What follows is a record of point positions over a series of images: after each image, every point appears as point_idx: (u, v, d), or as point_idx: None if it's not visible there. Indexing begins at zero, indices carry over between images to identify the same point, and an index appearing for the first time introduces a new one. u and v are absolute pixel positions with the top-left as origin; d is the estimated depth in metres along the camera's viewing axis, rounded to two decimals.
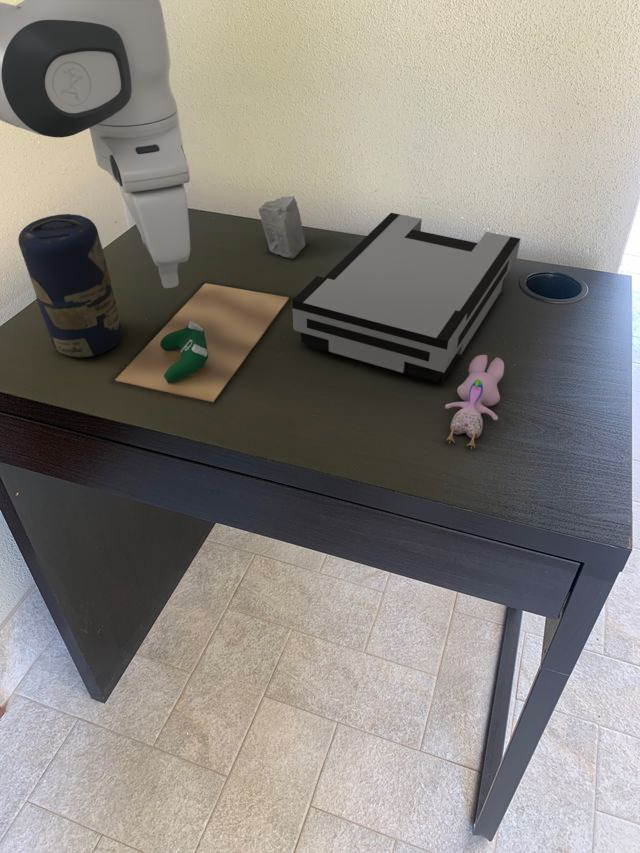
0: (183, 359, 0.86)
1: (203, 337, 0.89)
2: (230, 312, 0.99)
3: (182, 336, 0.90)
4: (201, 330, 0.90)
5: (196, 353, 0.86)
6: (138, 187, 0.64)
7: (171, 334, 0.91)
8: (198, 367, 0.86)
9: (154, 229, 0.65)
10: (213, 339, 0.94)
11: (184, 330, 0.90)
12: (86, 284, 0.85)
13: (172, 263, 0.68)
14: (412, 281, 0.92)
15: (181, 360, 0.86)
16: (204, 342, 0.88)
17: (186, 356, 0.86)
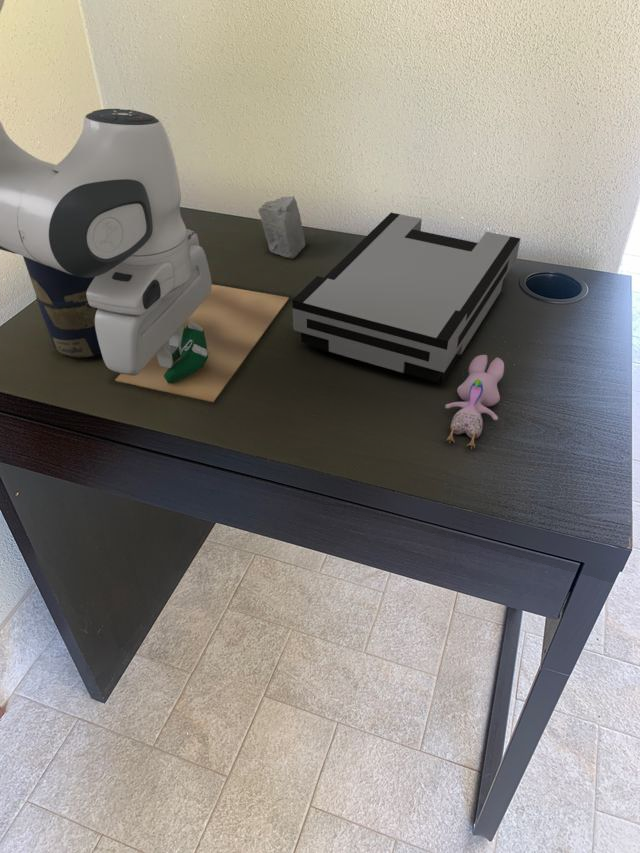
0: (183, 359, 0.86)
1: (203, 337, 0.89)
2: (230, 312, 0.99)
3: (182, 336, 0.90)
4: (201, 330, 0.90)
5: (196, 353, 0.86)
6: (97, 306, 0.72)
7: None
8: (198, 367, 0.86)
9: (104, 342, 0.74)
10: (213, 339, 0.94)
11: (184, 330, 0.90)
12: (86, 284, 0.85)
13: None
14: (412, 281, 0.92)
15: (181, 360, 0.86)
16: (204, 342, 0.88)
17: (186, 356, 0.86)
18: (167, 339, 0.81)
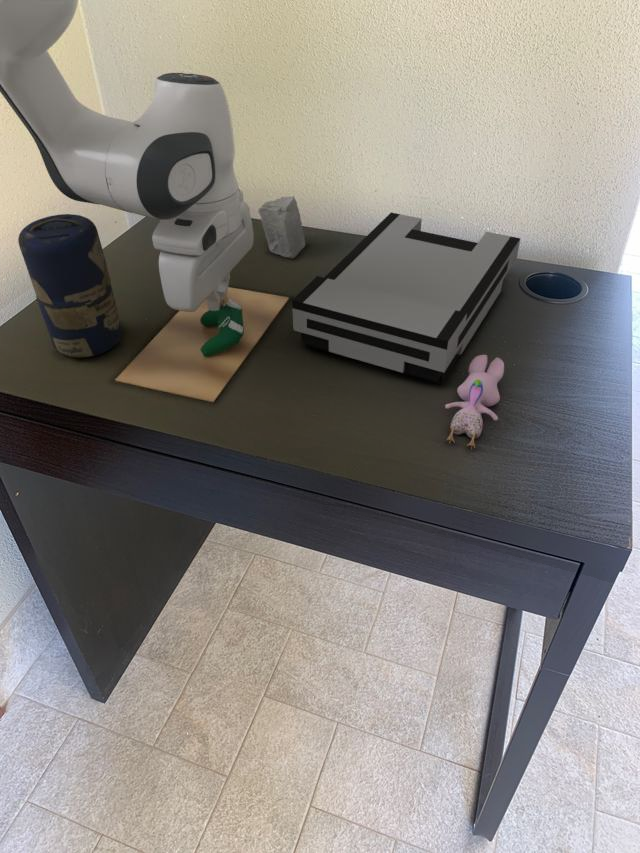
0: (219, 334, 0.90)
1: (240, 315, 0.93)
2: None
3: (221, 313, 0.94)
4: (239, 308, 0.94)
5: (232, 329, 0.90)
6: (161, 248, 0.82)
7: (211, 311, 0.95)
8: (233, 343, 0.90)
9: (166, 281, 0.84)
10: None
11: (223, 307, 0.94)
12: (86, 284, 0.85)
13: (179, 310, 0.86)
14: (412, 281, 0.92)
15: (218, 335, 0.90)
16: (241, 319, 0.92)
17: (222, 331, 0.90)
18: (218, 283, 0.90)
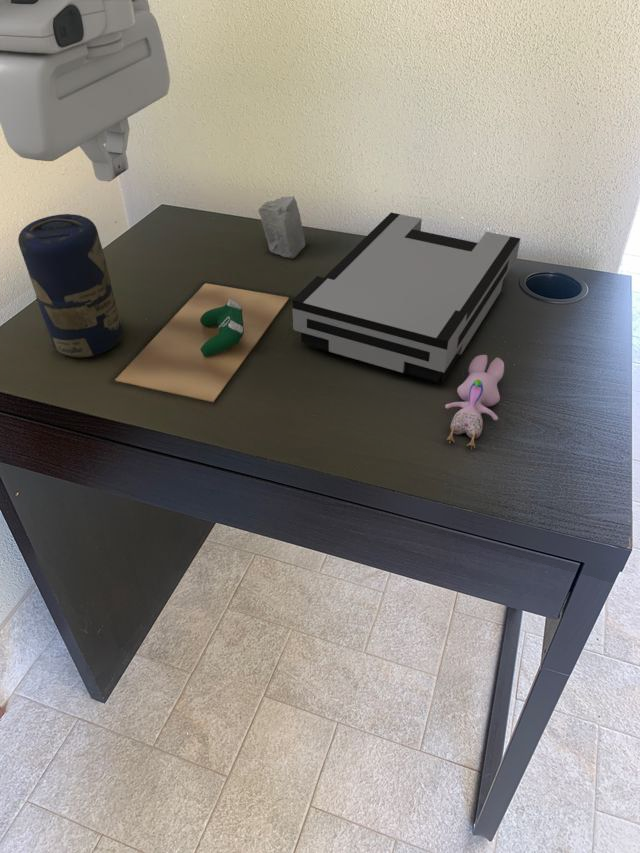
0: (219, 334, 0.90)
1: (240, 315, 0.93)
2: None
3: (221, 313, 0.94)
4: (239, 308, 0.94)
5: (232, 329, 0.90)
6: None
7: (211, 311, 0.95)
8: (233, 343, 0.90)
9: (2, 103, 0.51)
10: None
11: (223, 307, 0.94)
12: (86, 284, 0.85)
13: (30, 157, 0.53)
14: (412, 281, 0.92)
15: (217, 335, 0.90)
16: (241, 319, 0.92)
17: (222, 331, 0.90)
18: (102, 127, 0.58)
